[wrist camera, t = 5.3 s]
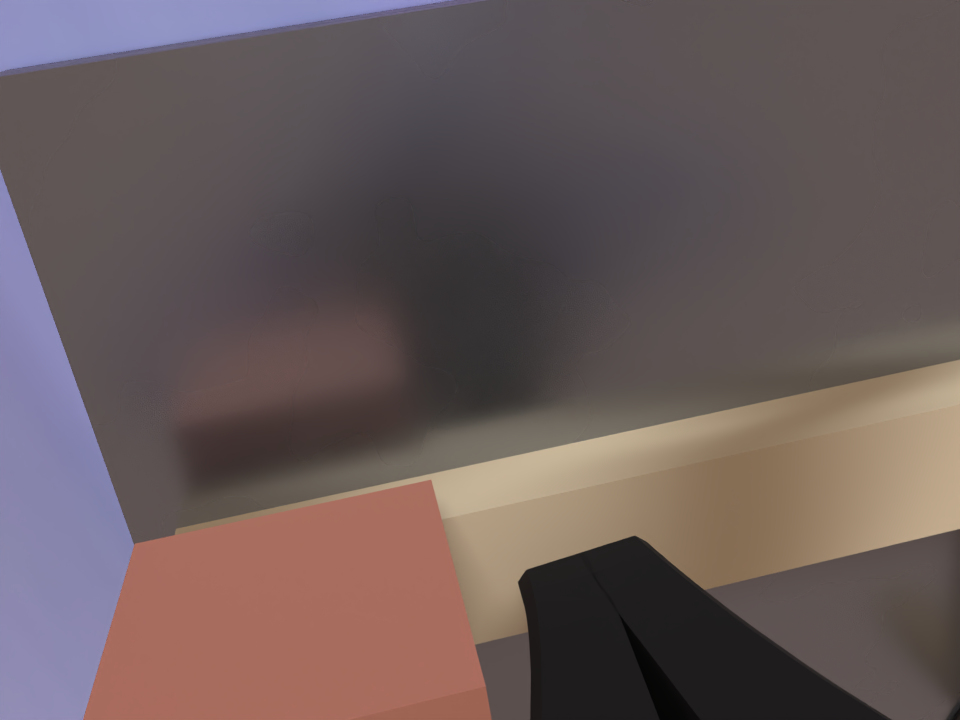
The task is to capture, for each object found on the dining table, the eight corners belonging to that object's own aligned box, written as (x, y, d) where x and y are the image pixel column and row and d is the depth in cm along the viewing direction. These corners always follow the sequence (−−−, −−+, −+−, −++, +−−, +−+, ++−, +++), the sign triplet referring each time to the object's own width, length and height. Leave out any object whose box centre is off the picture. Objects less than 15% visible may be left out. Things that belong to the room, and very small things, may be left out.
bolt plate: (1270, -127, 11) (1387, -141, 10) (1104, 718, 17) (1165, 775, 16) (6, 69, 9) (-34, 82, 8) (299, 935, 15) (300, 1017, 14)
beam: (1240, 298, 12) (1518, 392, 9) (1148, 712, 15) (1338, 875, 12) (176, 528, 10) (133, 722, 8) (312, 939, 13) (314, 1182, 11)
